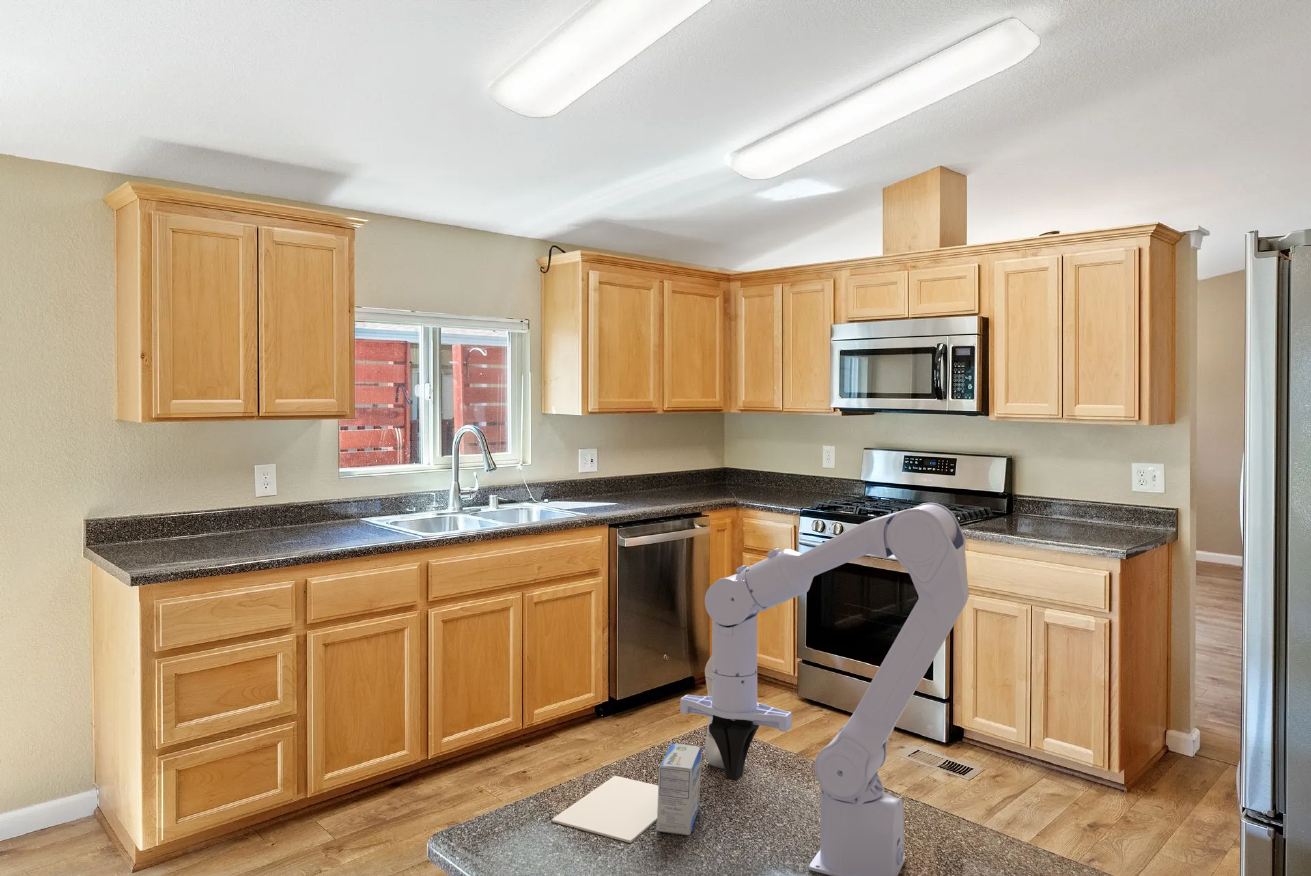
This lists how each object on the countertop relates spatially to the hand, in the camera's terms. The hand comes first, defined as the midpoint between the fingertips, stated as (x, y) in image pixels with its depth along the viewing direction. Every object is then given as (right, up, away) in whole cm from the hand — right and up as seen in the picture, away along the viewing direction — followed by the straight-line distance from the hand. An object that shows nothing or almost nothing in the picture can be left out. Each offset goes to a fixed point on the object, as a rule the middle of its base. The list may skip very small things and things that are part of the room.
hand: (734, 777), depth 107 cm
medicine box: (-7, -7, +4) cm, 11 cm away
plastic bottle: (+1, -7, +22) cm, 24 cm away
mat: (-15, -7, +8) cm, 18 cm away
